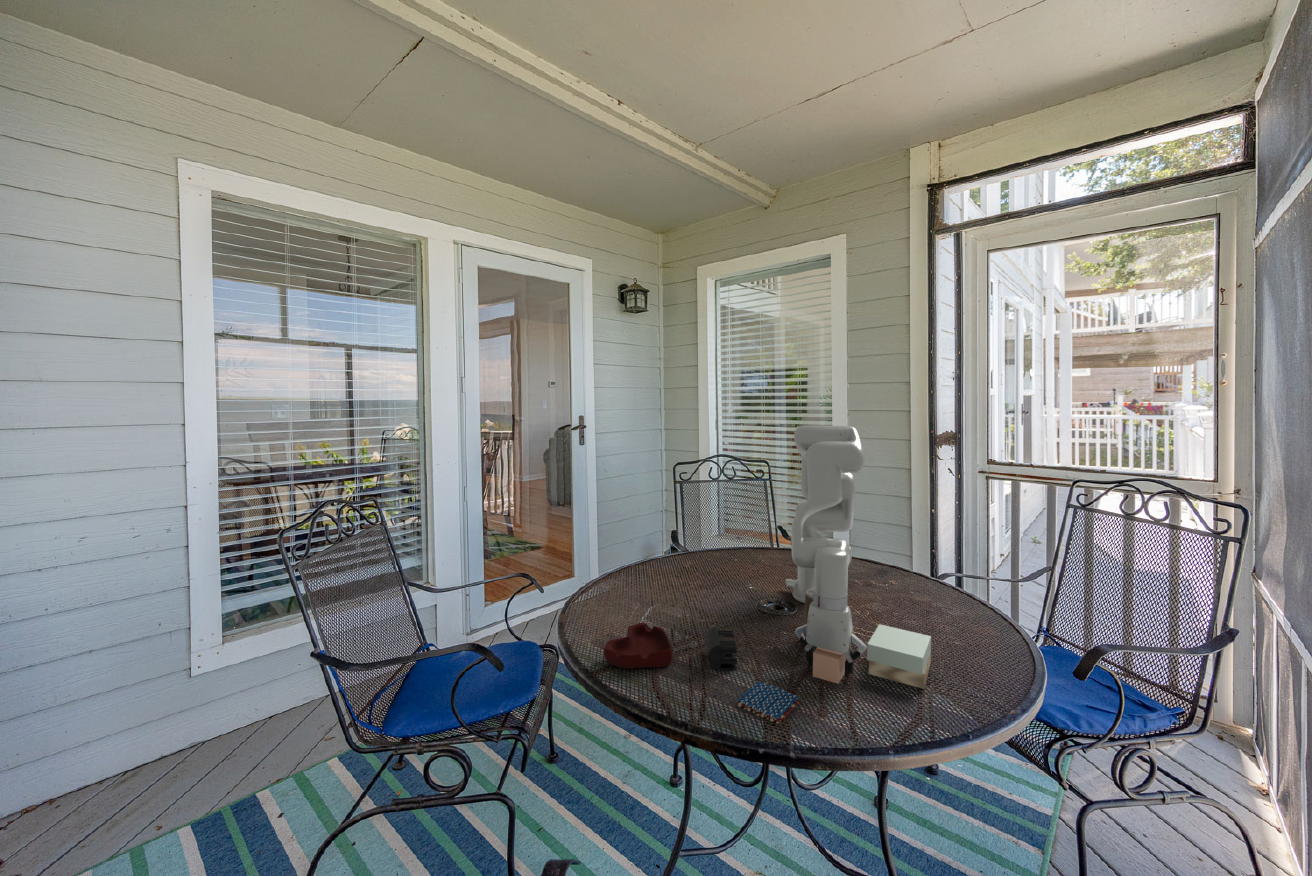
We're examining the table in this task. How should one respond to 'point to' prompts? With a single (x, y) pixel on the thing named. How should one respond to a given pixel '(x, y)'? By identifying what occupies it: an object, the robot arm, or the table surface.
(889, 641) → the sage slab
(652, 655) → the ashtray
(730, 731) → the table surface
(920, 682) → the birch slab
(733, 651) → the end cap
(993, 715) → the table surface
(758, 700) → the woven mat
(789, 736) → the table surface
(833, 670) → the terracotta cube
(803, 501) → the robot arm
